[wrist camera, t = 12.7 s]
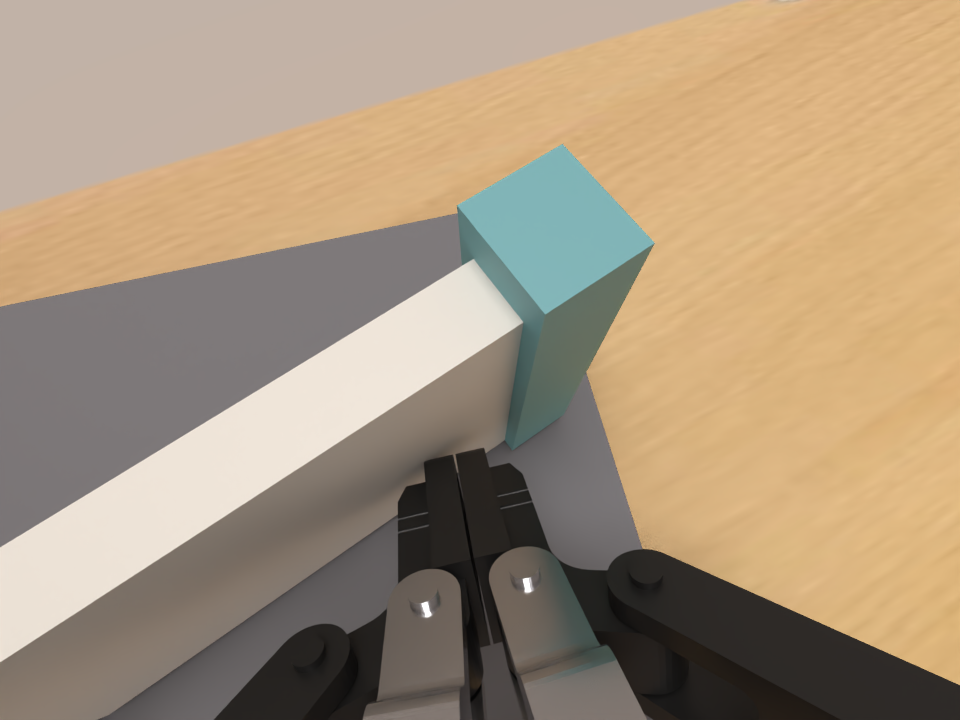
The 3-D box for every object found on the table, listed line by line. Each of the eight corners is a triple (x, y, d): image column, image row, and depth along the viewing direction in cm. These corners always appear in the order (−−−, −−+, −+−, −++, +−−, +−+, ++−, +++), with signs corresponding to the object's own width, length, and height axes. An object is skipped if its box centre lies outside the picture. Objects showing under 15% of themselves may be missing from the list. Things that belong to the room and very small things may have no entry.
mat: (-65, 1346, 12) (-112, 1413, 11) (6, 321, 20) (-18, 310, 19) (794, 1062, 13) (818, 1101, 12) (528, 214, 22) (530, 198, 21)
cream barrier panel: (15, 803, 14) (-932, 1290, 5) (-14, 713, 15) (-890, 980, 5) (565, 417, 17) (659, 247, 8) (520, 358, 18) (558, 139, 9)
